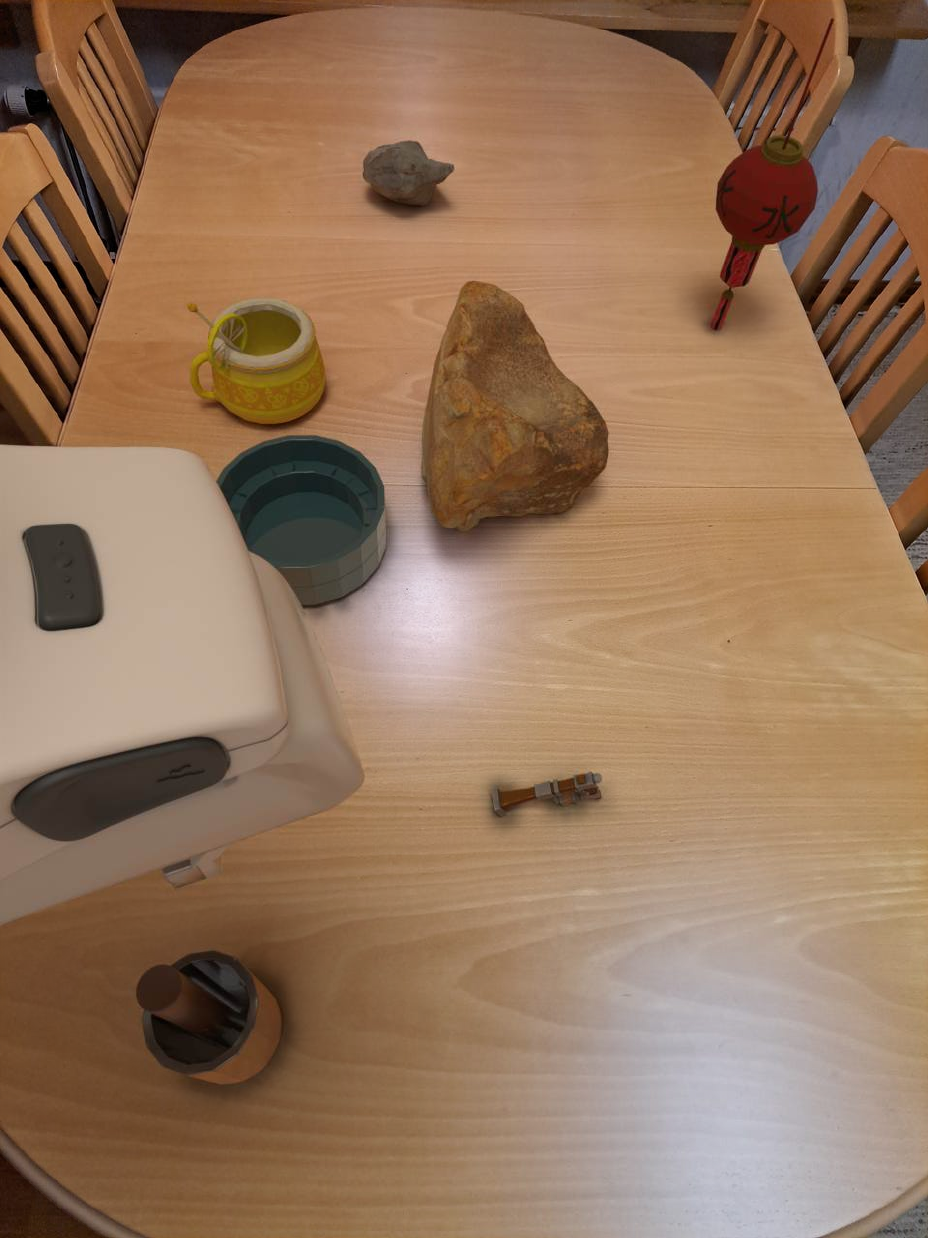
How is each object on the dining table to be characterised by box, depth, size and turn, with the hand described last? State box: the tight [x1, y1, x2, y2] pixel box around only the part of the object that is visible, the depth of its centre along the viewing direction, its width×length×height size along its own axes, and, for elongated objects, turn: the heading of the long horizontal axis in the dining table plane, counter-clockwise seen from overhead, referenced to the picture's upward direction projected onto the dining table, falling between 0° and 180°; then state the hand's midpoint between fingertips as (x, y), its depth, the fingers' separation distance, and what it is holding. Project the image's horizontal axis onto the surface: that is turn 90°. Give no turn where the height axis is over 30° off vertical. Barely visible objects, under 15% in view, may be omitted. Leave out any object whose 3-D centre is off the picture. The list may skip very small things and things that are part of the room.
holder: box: [141, 949, 283, 1085], centre depth 48 cm, size 6×6×10 cm
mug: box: [186, 297, 327, 425], centre depth 77 cm, size 13×11×12 cm
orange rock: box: [420, 280, 610, 533], centre depth 73 cm, size 23×17×15 cm
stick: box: [135, 963, 246, 1048], centre depth 45 cm, size 2×2×18 cm
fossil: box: [362, 139, 455, 207], centre depth 98 cm, size 11×9×8 cm
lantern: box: [710, 17, 835, 331], centre depth 79 cm, size 10×10×30 cm
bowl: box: [216, 434, 387, 606], centre depth 71 cm, size 14×14×6 cm
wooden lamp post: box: [491, 770, 603, 818], centre depth 61 cm, size 2×8×4 cm, turn 96°
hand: (37, 913), depth 25 cm, fingers open, 8 cm apart
